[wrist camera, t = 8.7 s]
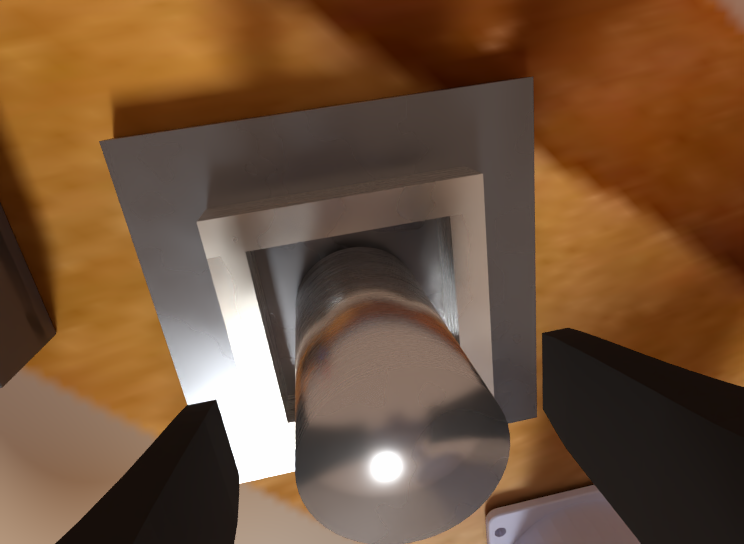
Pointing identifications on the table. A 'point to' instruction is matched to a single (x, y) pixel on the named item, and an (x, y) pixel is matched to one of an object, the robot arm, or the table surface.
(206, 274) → the base plate with socket
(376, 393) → the cylinder
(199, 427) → the robot arm
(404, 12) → the table surface
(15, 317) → the button housing
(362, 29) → the table surface
